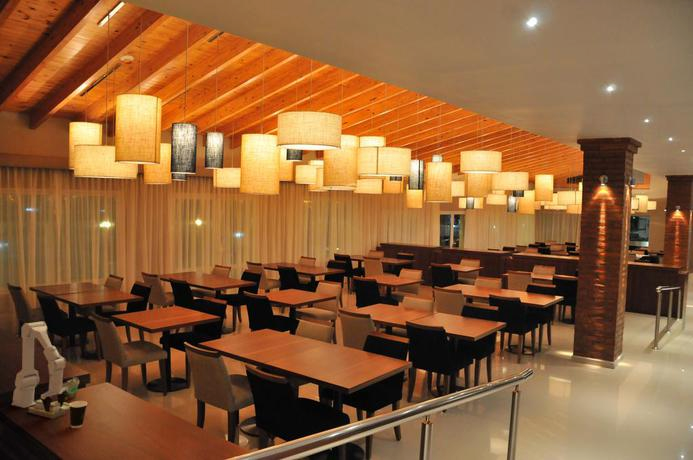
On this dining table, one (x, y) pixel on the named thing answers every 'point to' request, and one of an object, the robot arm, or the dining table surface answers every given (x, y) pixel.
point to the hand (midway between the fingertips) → (53, 408)
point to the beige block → (39, 405)
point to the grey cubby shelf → (47, 414)
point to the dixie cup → (77, 413)
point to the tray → (65, 405)
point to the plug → (54, 407)
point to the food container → (71, 387)
